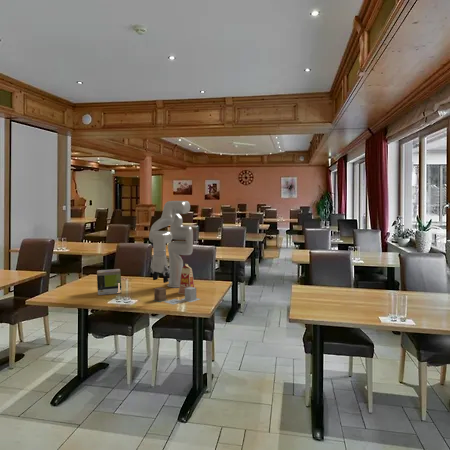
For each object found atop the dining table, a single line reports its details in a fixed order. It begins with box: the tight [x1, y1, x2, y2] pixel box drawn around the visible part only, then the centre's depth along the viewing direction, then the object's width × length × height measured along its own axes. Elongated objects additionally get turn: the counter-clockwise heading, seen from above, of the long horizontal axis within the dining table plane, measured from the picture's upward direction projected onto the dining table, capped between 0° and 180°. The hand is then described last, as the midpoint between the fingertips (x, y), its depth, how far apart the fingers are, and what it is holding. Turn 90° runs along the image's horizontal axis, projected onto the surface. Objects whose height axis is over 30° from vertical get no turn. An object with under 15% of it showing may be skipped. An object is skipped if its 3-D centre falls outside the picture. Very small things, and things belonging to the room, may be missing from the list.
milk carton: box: [177, 263, 196, 295], centre depth 261 cm, size 9×9×20 cm
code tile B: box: [180, 297, 201, 303], centre depth 245 cm, size 9×9×1 cm
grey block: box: [184, 286, 197, 301], centre depth 244 cm, size 5×5×7 cm
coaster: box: [152, 298, 168, 303], centre depth 243 cm, size 7×7×1 cm
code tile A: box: [164, 298, 185, 306], centre depth 240 cm, size 9×9×1 cm
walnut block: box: [153, 287, 167, 302], centre depth 243 cm, size 5×5×7 cm
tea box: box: [96, 268, 122, 296], centre depth 263 cm, size 15×10×15 cm, turn 108°
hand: (160, 281), depth 243 cm, fingers open, 9 cm apart
